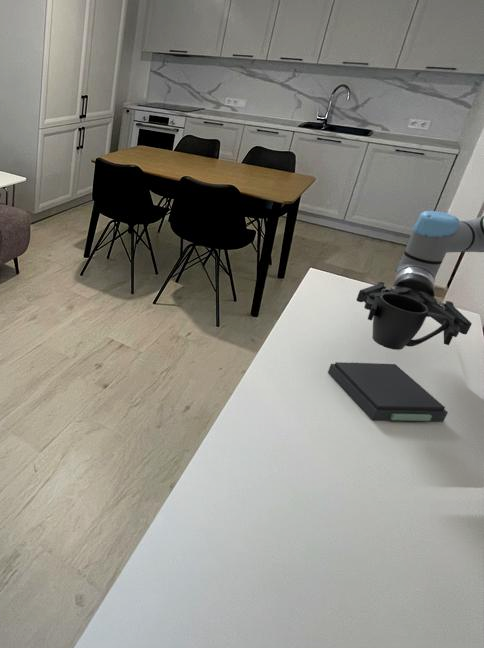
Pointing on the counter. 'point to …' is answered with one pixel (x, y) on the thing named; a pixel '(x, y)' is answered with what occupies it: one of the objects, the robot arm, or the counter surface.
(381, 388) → the scale
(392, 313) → the mug
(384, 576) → the counter surface
